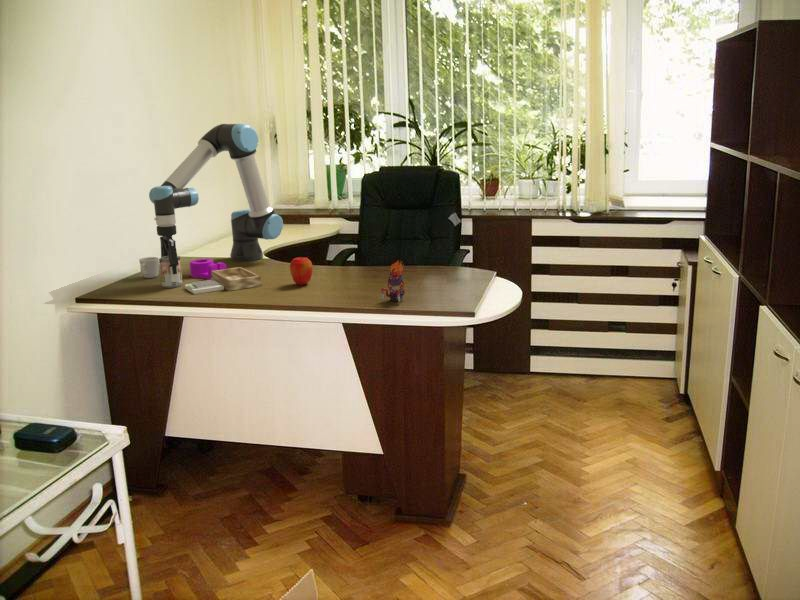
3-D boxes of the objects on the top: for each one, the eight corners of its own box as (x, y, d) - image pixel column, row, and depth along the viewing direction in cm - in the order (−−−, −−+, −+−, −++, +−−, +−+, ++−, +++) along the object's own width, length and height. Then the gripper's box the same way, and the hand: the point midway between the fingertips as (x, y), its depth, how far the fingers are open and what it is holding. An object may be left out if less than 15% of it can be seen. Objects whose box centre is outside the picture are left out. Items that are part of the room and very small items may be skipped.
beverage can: (160, 284, 325) (157, 255, 322) (181, 282, 328) (178, 253, 325) (163, 289, 316) (160, 259, 313) (184, 286, 320) (181, 257, 317)
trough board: (242, 275, 336) (242, 266, 335) (262, 285, 318) (261, 276, 317) (211, 280, 329) (210, 271, 328) (228, 290, 311) (228, 280, 310)
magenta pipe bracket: (186, 276, 340) (184, 262, 338) (204, 271, 347) (203, 257, 346) (210, 280, 330) (209, 266, 329) (228, 276, 338) (227, 261, 336)
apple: (298, 288, 312) (296, 258, 309) (286, 284, 319) (284, 255, 316) (317, 284, 318) (316, 255, 315) (306, 280, 325) (304, 252, 322)
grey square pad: (210, 282, 320) (210, 279, 320) (217, 285, 313) (216, 283, 313) (191, 284, 316) (191, 282, 316) (197, 288, 309) (197, 286, 309)
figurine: (377, 303, 286) (376, 263, 283) (386, 297, 295) (385, 258, 291) (399, 305, 283) (398, 264, 280) (408, 299, 292) (407, 259, 288)
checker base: (214, 284, 323) (213, 279, 323) (223, 289, 313) (223, 285, 313) (185, 288, 317) (184, 283, 317) (194, 294, 307) (193, 289, 307)
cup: (151, 280, 332) (149, 262, 330) (134, 280, 333) (132, 262, 331) (163, 275, 342) (162, 257, 340) (147, 274, 344) (145, 256, 342)
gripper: (149, 222, 323) (155, 275, 329) (164, 229, 305) (169, 285, 311) (167, 220, 327) (173, 273, 333) (183, 227, 309) (188, 283, 314)
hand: (171, 279), depth 322 cm, fingers closed on beverage can, 9 cm apart
